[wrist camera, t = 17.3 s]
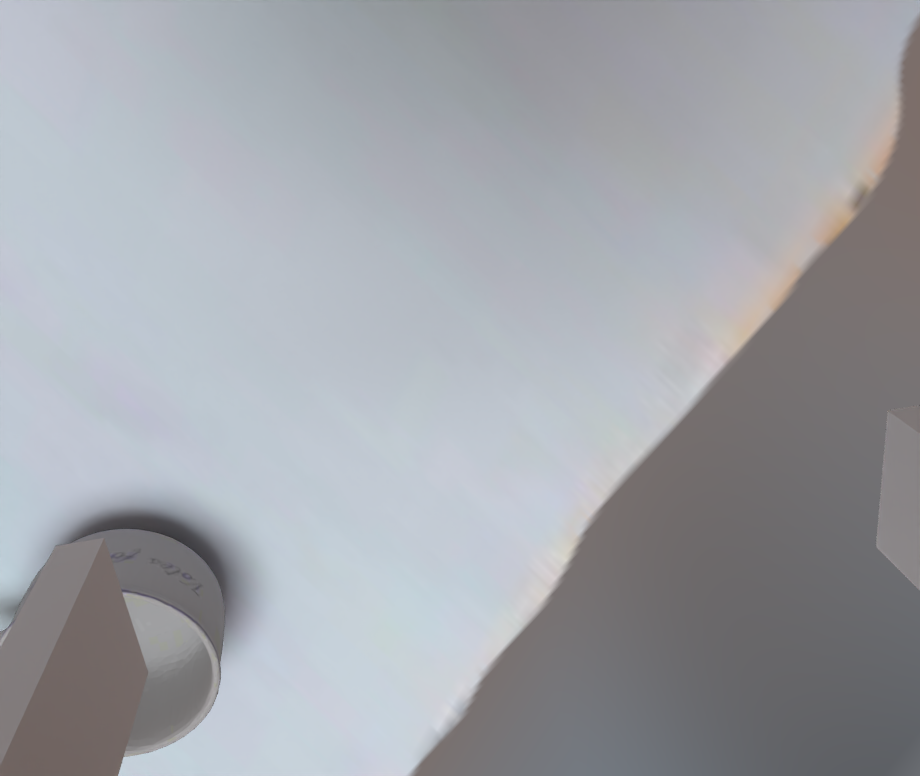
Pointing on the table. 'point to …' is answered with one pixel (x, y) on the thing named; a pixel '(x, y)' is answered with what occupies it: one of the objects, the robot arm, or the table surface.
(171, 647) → the teacup
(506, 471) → the table surface
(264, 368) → the table surface
